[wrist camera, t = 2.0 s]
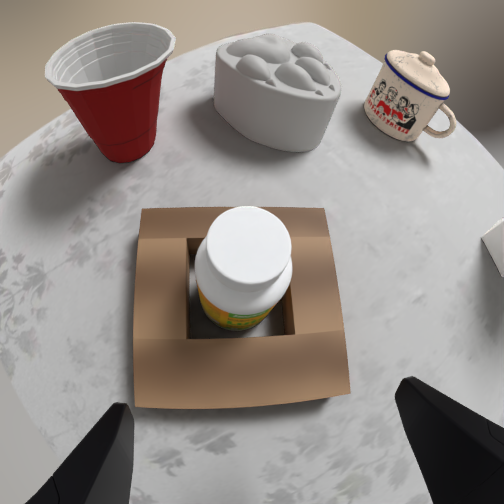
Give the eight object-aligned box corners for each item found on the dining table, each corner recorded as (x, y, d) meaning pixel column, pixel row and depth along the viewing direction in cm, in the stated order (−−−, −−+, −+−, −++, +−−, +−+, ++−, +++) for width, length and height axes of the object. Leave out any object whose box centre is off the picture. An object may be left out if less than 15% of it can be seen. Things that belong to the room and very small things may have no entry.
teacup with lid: (349, 108, 34) (381, 35, 23) (380, 92, 37) (410, 32, 26) (421, 170, 31) (473, 105, 20) (442, 145, 34) (484, 90, 23)
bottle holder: (334, 391, 20) (350, 393, 18) (145, 402, 18) (135, 406, 16) (313, 225, 26) (324, 208, 23) (149, 227, 24) (142, 208, 21)
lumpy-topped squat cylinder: (268, 76, 34) (278, 21, 26) (342, 133, 31) (370, 75, 23) (201, 101, 31) (202, 37, 23) (278, 169, 28) (299, 100, 20)
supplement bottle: (223, 345, 21) (228, 323, 12) (187, 283, 22) (170, 222, 14) (284, 308, 23) (328, 263, 14) (247, 252, 24) (266, 178, 15)
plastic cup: (167, 189, 26) (147, 78, 15) (67, 181, 25) (19, 91, 14) (192, 111, 30) (191, 16, 19) (106, 109, 29) (84, 25, 18)
